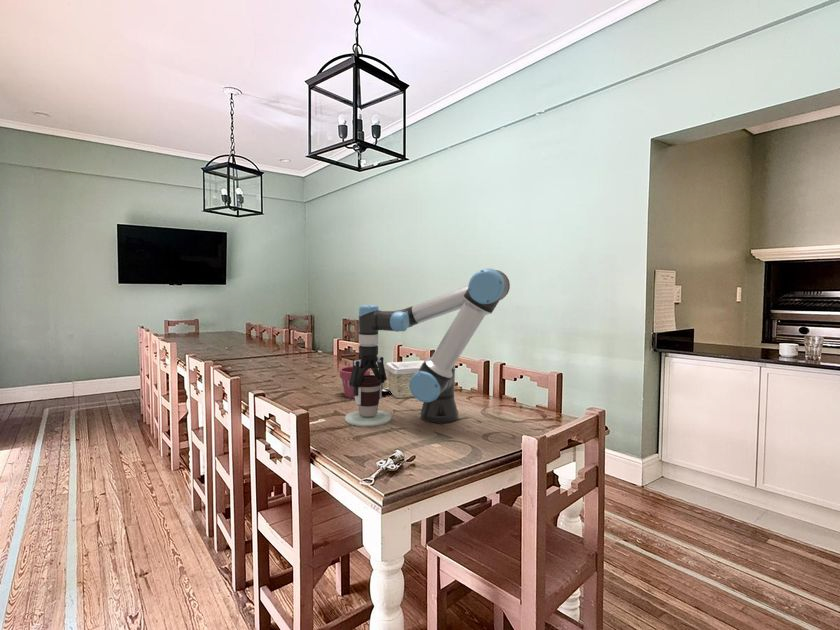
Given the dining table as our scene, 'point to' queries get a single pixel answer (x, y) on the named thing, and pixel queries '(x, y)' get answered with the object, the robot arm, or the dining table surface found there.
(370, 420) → the dish
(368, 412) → the coffee cup
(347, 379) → the plant pot
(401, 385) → the storage basket
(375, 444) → the dining table surface
